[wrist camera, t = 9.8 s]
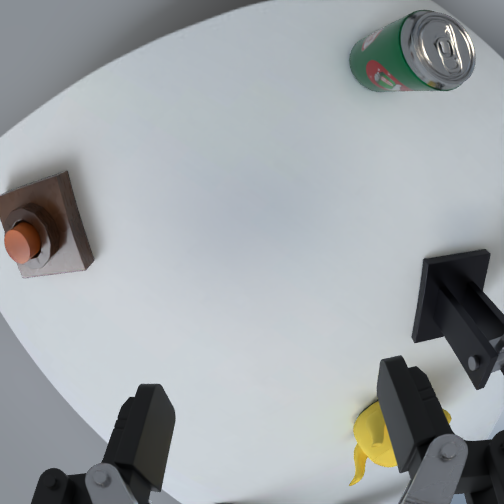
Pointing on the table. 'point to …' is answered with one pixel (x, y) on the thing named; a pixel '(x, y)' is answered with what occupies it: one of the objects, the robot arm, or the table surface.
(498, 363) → the lever
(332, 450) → the table surface
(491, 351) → the bracket
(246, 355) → the table surface
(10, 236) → the button
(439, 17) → the soda can
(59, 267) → the button block
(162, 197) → the table surface
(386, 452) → the teapot
